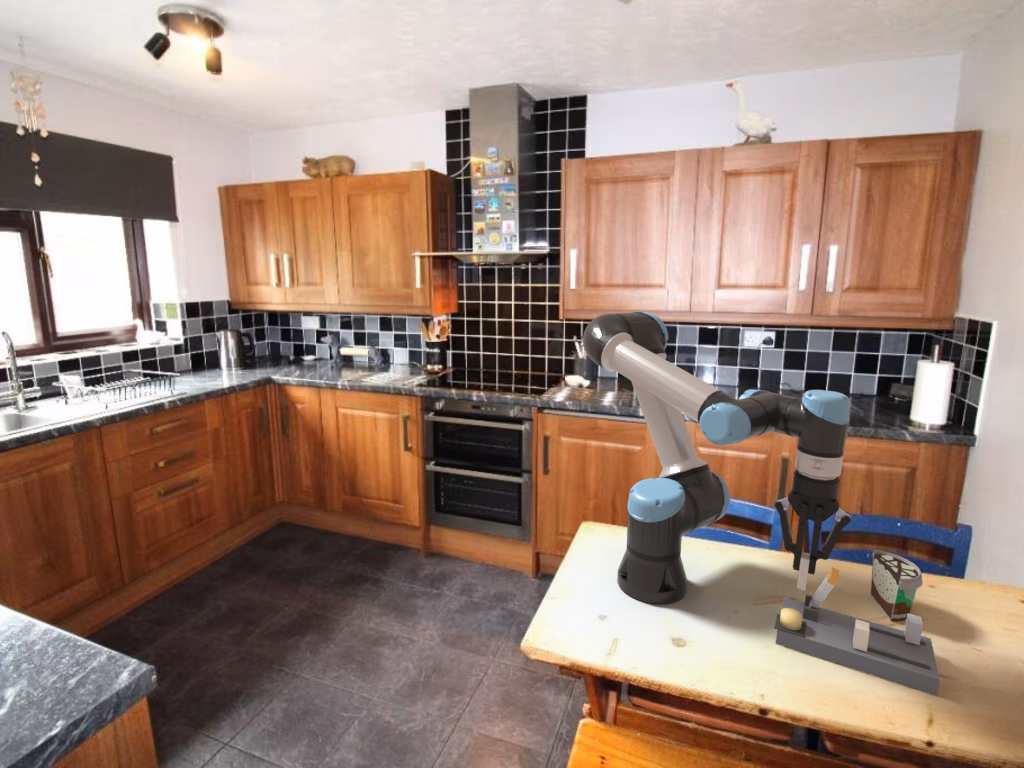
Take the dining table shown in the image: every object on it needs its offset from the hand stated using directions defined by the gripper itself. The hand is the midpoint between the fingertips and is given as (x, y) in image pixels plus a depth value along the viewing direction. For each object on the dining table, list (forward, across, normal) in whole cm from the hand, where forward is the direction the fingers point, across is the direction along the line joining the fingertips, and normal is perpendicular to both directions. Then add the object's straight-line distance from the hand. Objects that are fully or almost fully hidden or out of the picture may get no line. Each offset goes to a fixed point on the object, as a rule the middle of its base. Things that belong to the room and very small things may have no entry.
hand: (801, 585), depth 104 cm
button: (+5, -1, -7) cm, 8 cm away
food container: (+8, +17, +16) cm, 25 cm away
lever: (+4, +2, 0) cm, 5 cm away
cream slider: (+5, +10, -7) cm, 13 cm away
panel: (+8, +9, -3) cm, 13 cm away
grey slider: (+5, +18, 0) cm, 19 cm away
